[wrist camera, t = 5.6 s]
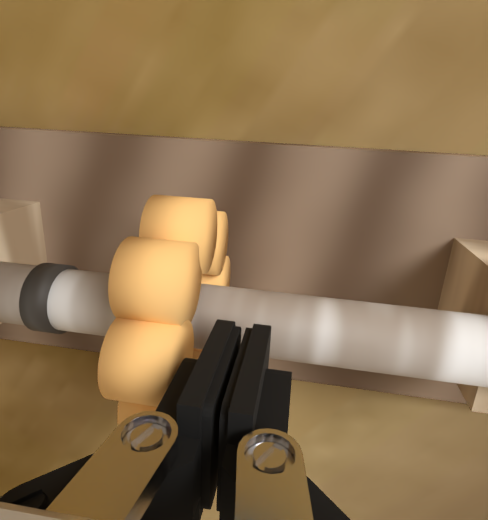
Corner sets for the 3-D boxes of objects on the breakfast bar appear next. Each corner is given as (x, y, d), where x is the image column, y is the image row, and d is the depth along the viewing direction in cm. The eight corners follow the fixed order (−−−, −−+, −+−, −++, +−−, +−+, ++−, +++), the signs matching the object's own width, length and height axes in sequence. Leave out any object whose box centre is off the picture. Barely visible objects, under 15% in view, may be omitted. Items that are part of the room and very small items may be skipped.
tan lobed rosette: (234, 181, 18) (164, 234, 9) (227, 354, 20) (169, 510, 12) (189, 178, 18) (84, 226, 10) (189, 349, 21) (108, 498, 13)
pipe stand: (588, 161, 17) (798, 192, 10) (511, 396, 21) (617, 543, 14) (-41, 124, 21) (-231, 125, 14) (-5, 326, 25) (-136, 410, 18)
